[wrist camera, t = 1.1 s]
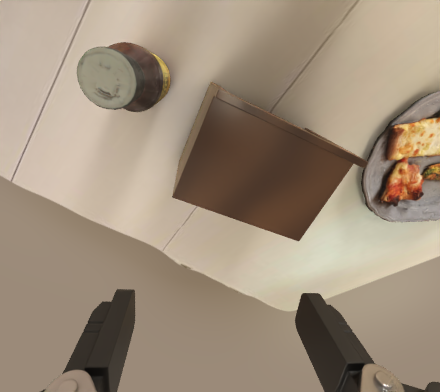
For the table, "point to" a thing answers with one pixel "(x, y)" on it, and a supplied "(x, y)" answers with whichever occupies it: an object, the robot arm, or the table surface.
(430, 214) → the food plate
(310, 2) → the table surface
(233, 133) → the shelf
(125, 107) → the sauce bottle
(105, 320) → the robot arm
